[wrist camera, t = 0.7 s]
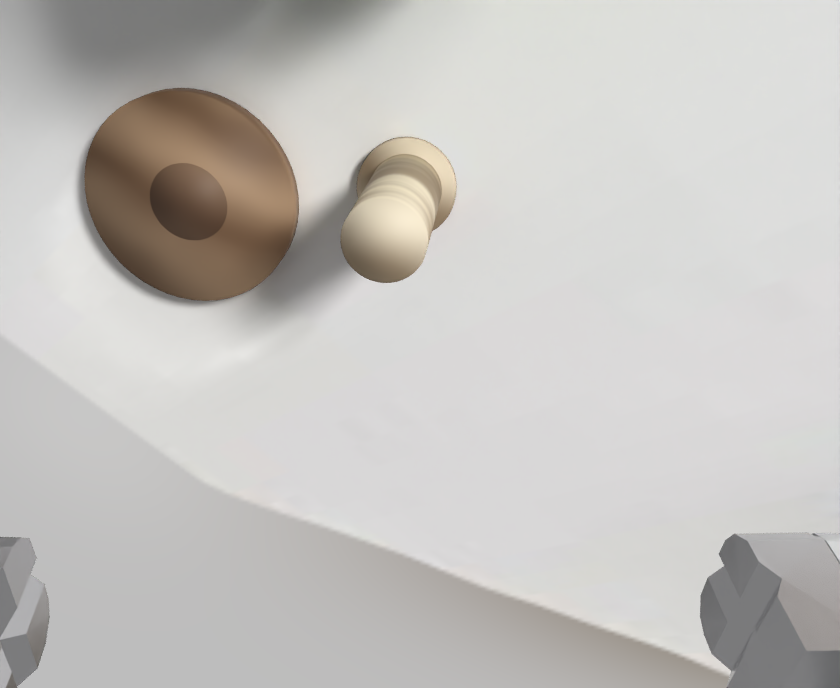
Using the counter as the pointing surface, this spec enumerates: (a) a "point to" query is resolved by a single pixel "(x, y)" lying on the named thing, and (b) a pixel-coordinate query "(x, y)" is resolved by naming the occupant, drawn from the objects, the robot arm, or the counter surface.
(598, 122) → the counter surface
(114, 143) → the base
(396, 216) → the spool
